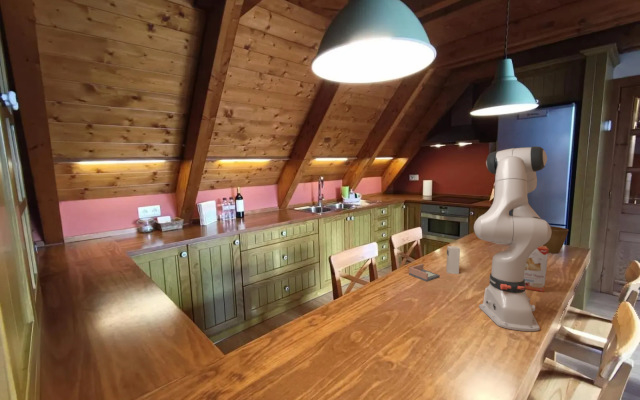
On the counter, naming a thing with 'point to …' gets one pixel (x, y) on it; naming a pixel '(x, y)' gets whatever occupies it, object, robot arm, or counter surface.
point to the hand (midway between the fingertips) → (478, 234)
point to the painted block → (453, 259)
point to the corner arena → (422, 273)
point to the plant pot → (556, 239)
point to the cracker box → (536, 269)
